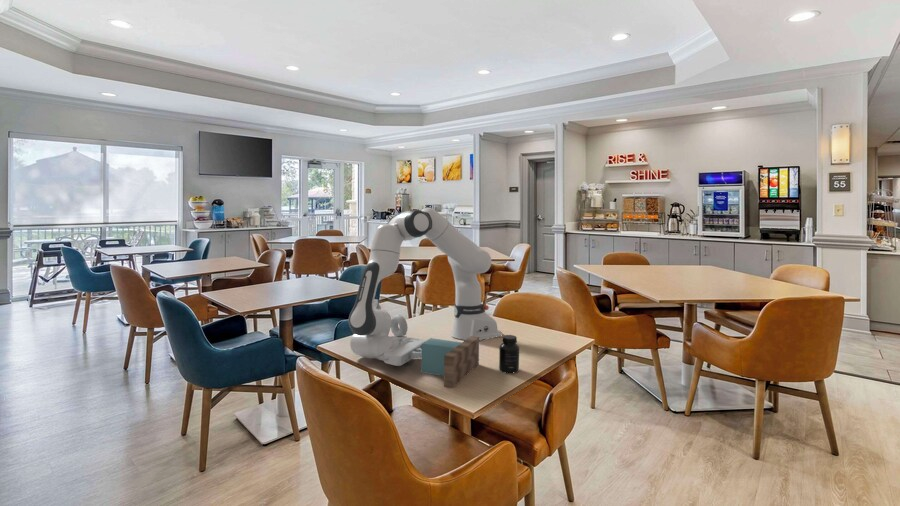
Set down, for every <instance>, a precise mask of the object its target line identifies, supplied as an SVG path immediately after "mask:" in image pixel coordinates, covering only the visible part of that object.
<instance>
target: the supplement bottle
mask: <svg viewBox="0 0 900 506" xmlns="http://www.w3.org/2000/svg"><path fill="white" fill-rule="evenodd" d="M517 338H518V337H517V336H515V335H513V334H506V335H505V334H504V335H503V336H502V341H501V342H502V343H501V344H500V345H499V352H498V353H499V357H498V358H499V359H498V363H499V364H498V369H499V371H500V372H501V371H502V372H501V373H503V372H506V373H505V374H509V373H511V374H514V373H513V372H516V373H518V372H519V369H520V345H519V344H517V343H518V341H517ZM517 371H518V372H517Z"/></svg>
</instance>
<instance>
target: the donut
mask: <svg viewBox="0 0 900 506" xmlns="http://www.w3.org/2000/svg"><path fill="white" fill-rule="evenodd" d="M408 329H409V328H408V323H407V319H406V318H405V317H404V316H403V315H401V314H395V315H394V316H392V317H391V327H390V330H391V333H392V335H394V336H400V335H406V336H407V332H408Z"/></svg>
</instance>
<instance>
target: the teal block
mask: <svg viewBox="0 0 900 506" xmlns="http://www.w3.org/2000/svg"><path fill="white" fill-rule="evenodd" d="M424 341H425V342H423V343H422V358H421V373H425V374H430V375H437V376H442V377H444V355H446V354H447V353H449V352H450V351H451V350H453V349H454V348H455V347H457V346H458V345H460V344H461V343H462V341H454V340H446V339H440V338H439V339H438V338H434V337H433V338H432V337H431V338H429V339H427V340H424Z"/></svg>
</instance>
